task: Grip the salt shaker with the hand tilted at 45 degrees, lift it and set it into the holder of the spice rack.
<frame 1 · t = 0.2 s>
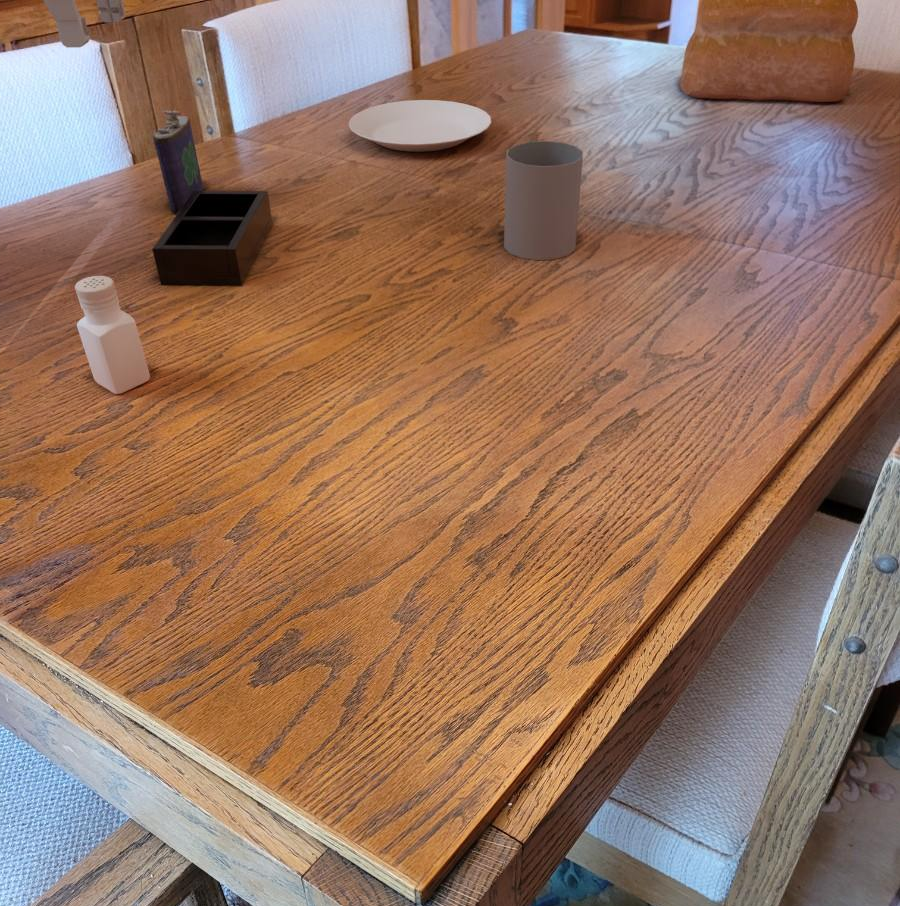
hand: (96, 32, 73), 26 cm above the table, tool pointing down, fingers open, 8 cm apart
flask: (189, 202, 116), on the table
plate: (420, 138, 134), on the table
cup: (539, 246, 105), on the table
salt shaker: (124, 384, 84), on the table
spice rack: (219, 253, 104), on the table
bread: (760, 94, 147), on the table
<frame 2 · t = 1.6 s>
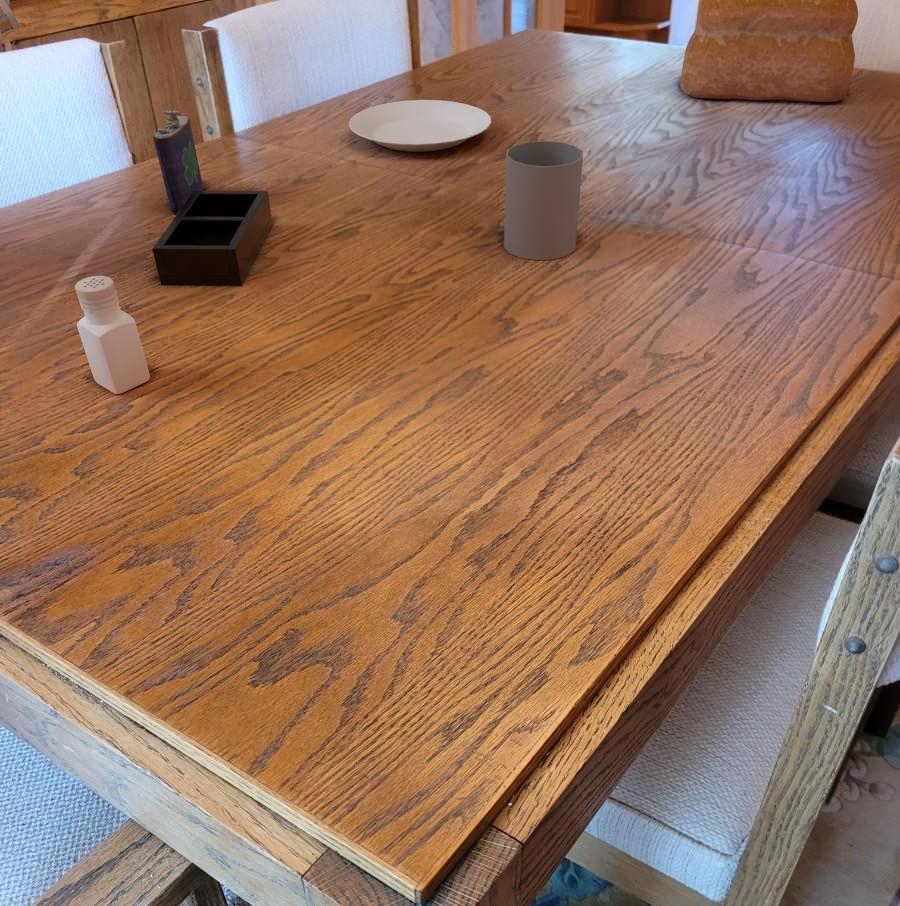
nothing on the table moved.
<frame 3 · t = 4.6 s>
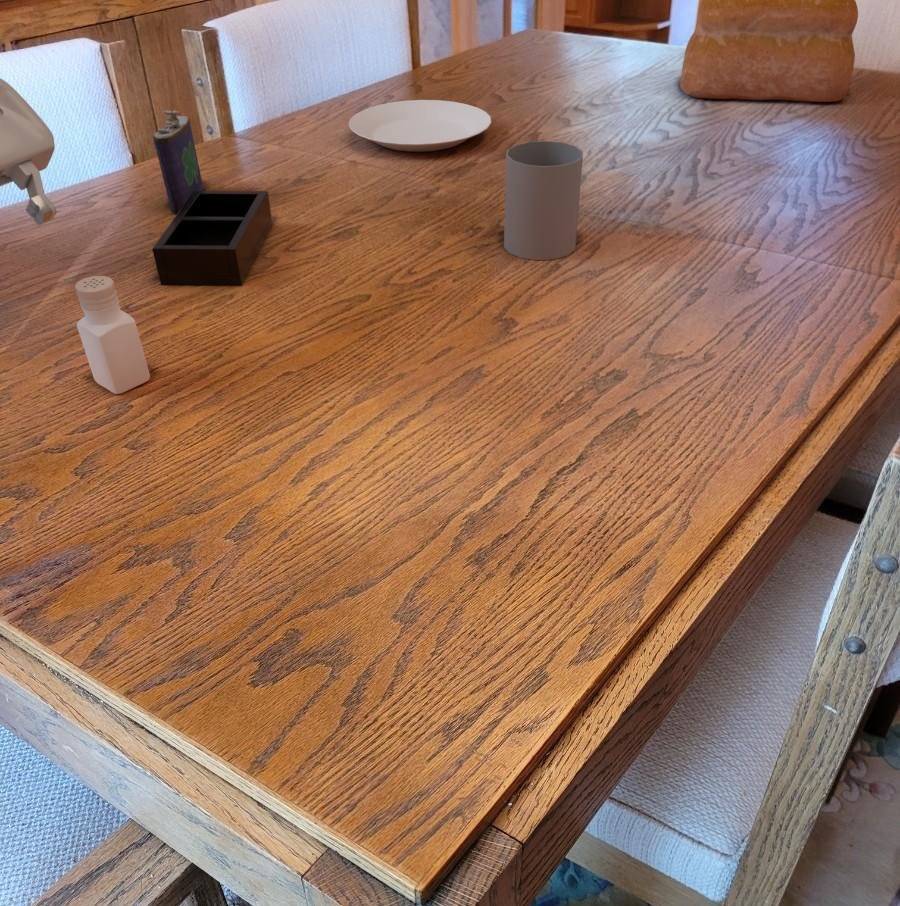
hand: (6, 236, 77), 12 cm above the table, tool tilted 45°, fingers open, 8 cm apart
nothing on the table moved.
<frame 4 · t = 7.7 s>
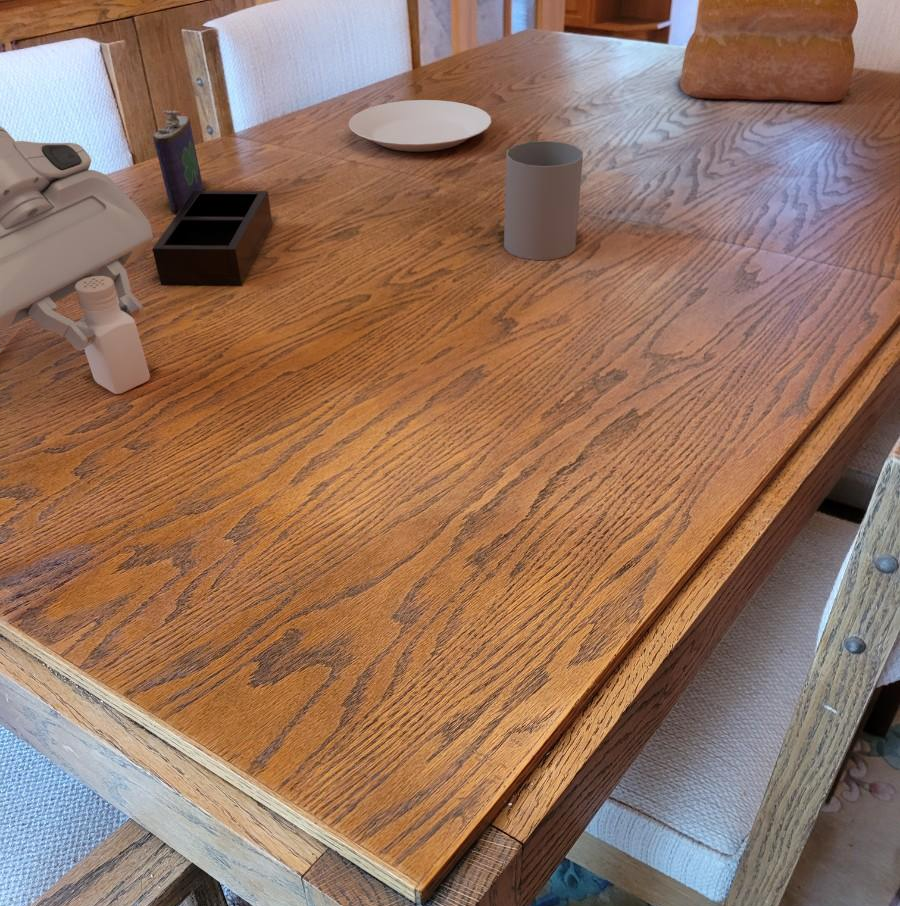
hand: (112, 329, 80), 5 cm above the table, tool tilted 45°, fingers closed on salt shaker, 4 cm apart
salt shaker: (124, 384, 84), on the table, touching gripper
everything else where it was.
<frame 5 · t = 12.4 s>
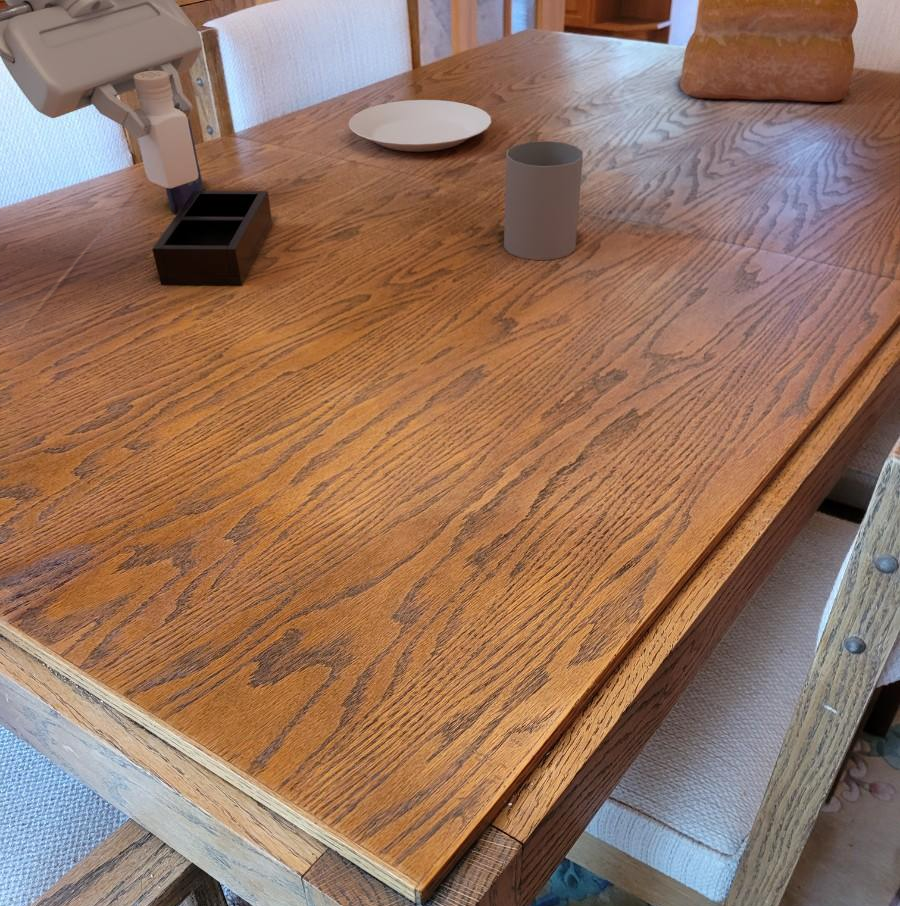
hand: (166, 124, 86), 16 cm above the table, tool tilted 45°, fingers closed on salt shaker, 4 cm apart
salt shaker: (174, 183, 90), point 11 cm above the table, touching gripper
everything else where it was.
when the fingers open (6 cm above the table, at t = 17.1 s): salt shaker stays where it is, resting on spice rack.
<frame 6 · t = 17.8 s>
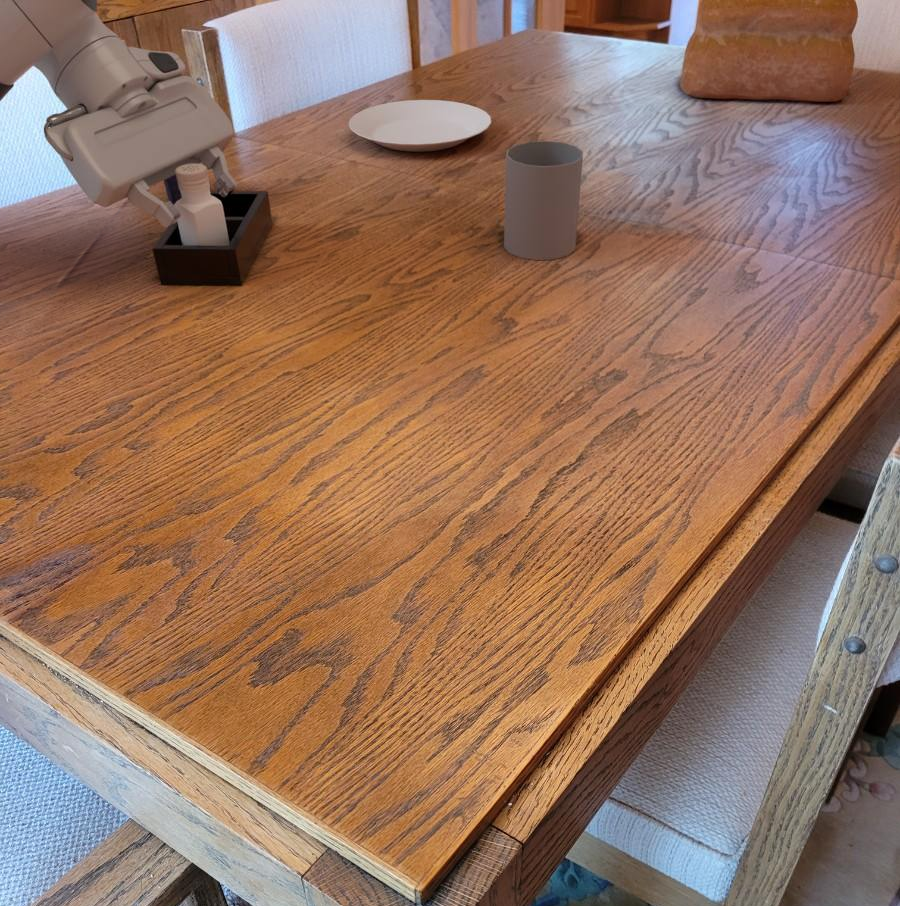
hand: (203, 206, 96), 7 cm above the table, tool tilted 45°, fingers open, 8 cm apart
salt shaker: (209, 260, 100), point 1 cm above the table, touching spice rack
everything else where it was.
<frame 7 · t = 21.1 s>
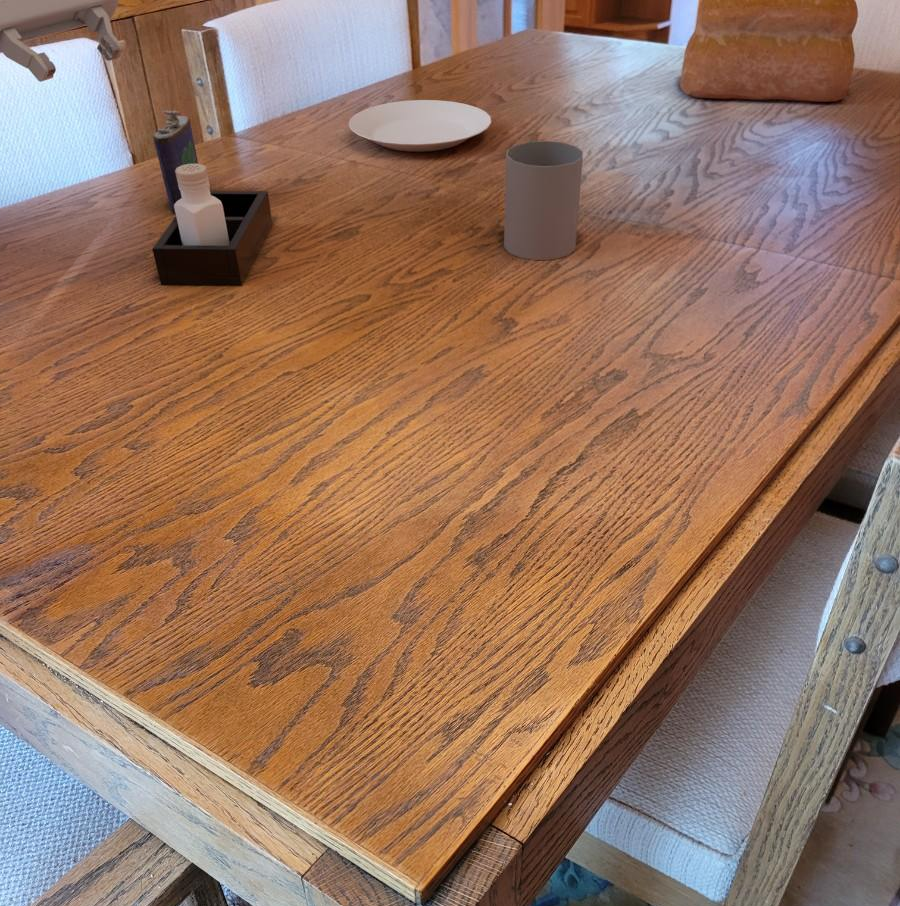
hand: (83, 65, 93), 19 cm above the table, tool tilted 45°, fingers open, 8 cm apart
nothing on the table moved.
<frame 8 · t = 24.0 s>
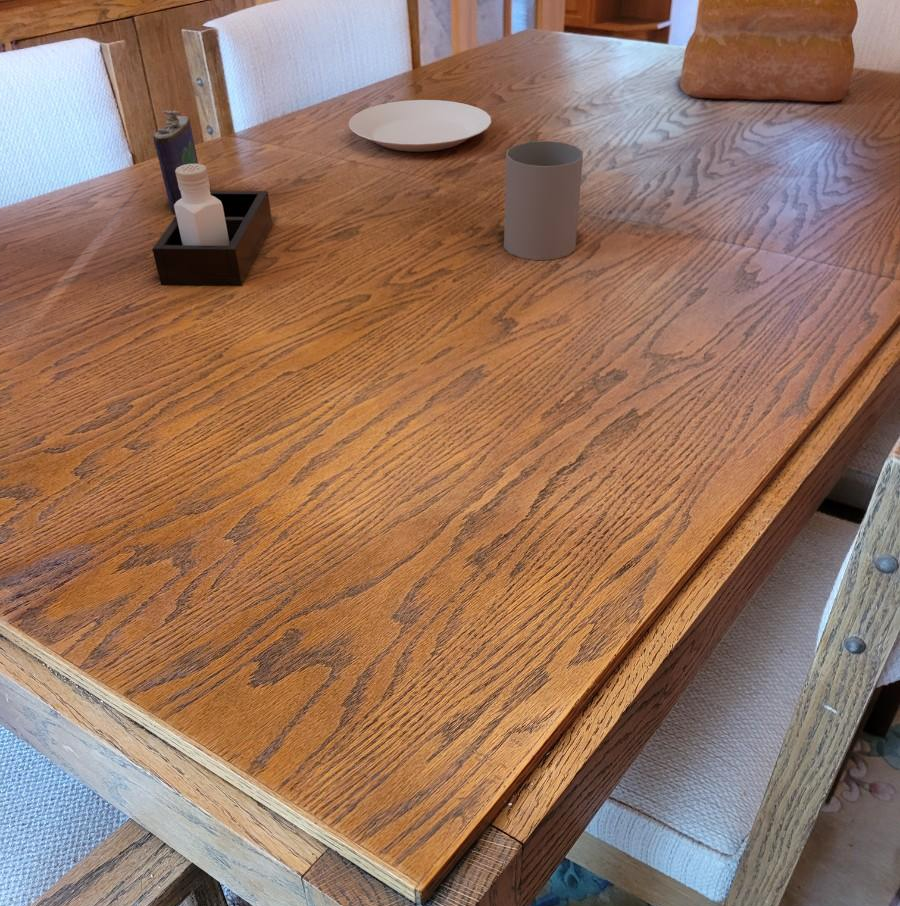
nothing on the table moved.
at the end: salt shaker 0.3 cm from the target spot in the spice rack, point 1.0 cm above the spice rack's base; salt shaker tilted 0°; the gripper is holding nothing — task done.
